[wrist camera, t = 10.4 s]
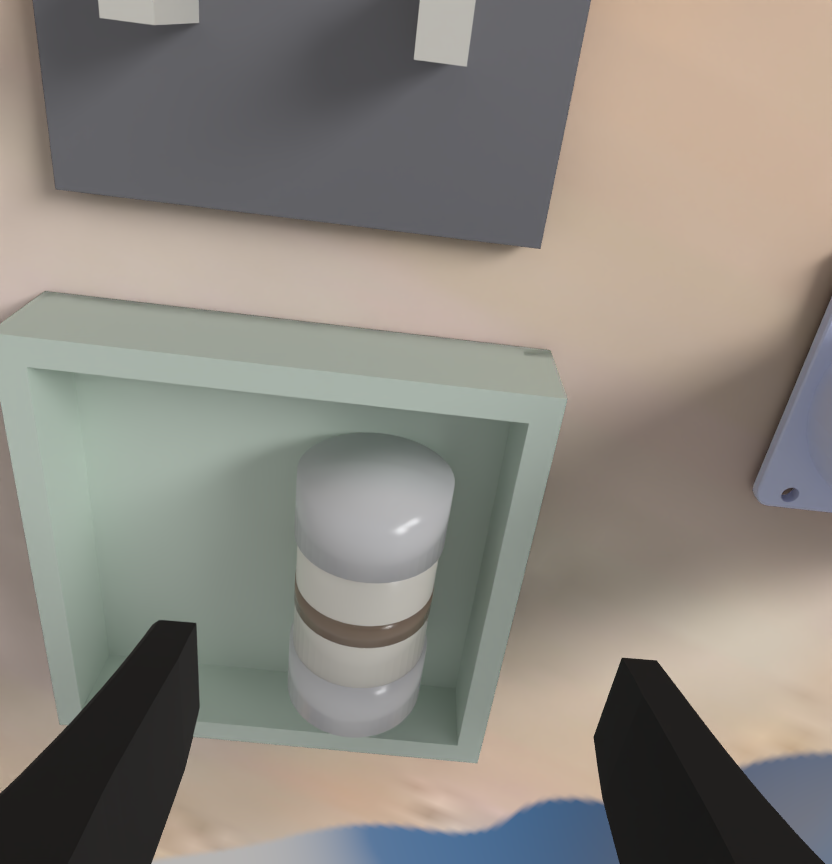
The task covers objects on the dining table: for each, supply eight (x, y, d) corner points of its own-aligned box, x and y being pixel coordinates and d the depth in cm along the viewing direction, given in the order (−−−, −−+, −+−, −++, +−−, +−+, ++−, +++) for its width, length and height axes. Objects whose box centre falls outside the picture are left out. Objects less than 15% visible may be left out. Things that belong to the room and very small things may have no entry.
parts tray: (550, 350, 21) (567, 399, 18) (473, 692, 28) (477, 763, 25) (45, 291, 20) (-13, 332, 18) (95, 655, 27) (59, 724, 24)
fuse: (341, 418, 22) (474, 459, 21) (326, 617, 26) (437, 659, 25) (266, 487, 18) (421, 540, 17) (261, 704, 22) (388, 759, 21)
